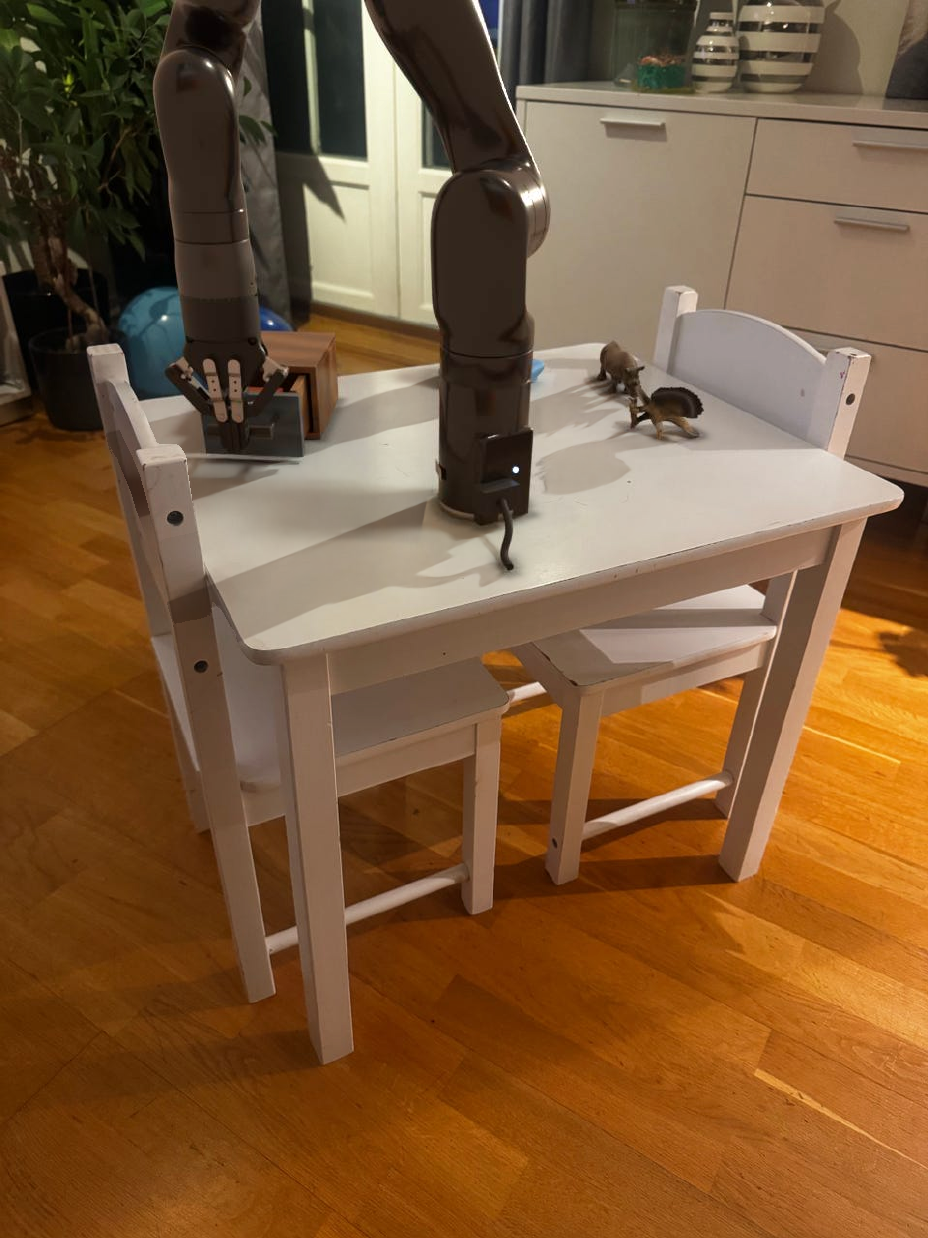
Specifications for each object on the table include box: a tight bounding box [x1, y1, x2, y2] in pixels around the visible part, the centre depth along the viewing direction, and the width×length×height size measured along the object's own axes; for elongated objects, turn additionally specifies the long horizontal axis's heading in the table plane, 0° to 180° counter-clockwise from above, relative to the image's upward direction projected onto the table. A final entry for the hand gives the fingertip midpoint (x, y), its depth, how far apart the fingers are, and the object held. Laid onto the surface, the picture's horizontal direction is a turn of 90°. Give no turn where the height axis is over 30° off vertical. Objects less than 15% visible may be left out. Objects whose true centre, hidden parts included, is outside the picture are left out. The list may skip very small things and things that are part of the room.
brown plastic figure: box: [628, 386, 705, 440], centre depth 117 cm, size 8×7×9 cm
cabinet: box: [259, 330, 340, 440], centre depth 117 cm, size 15×13×9 cm
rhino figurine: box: [597, 340, 646, 399], centre depth 130 cm, size 4×14×6 cm, turn 10°
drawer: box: [200, 371, 313, 458], centre depth 108 cm, size 19×11×7 cm, turn 178°
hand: (236, 451), depth 99 cm, fingers closed
